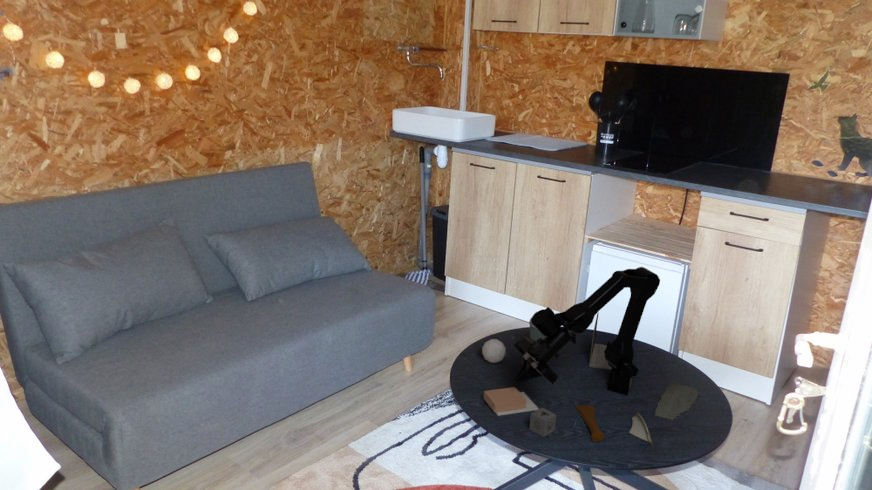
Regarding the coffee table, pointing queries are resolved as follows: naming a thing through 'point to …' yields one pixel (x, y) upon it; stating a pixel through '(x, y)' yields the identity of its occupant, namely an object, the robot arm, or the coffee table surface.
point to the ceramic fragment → (640, 429)
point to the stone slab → (675, 401)
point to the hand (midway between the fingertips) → (515, 382)
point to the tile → (504, 399)
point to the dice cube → (542, 422)
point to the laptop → (598, 353)
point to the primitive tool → (590, 421)
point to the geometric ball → (493, 351)
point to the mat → (529, 407)
